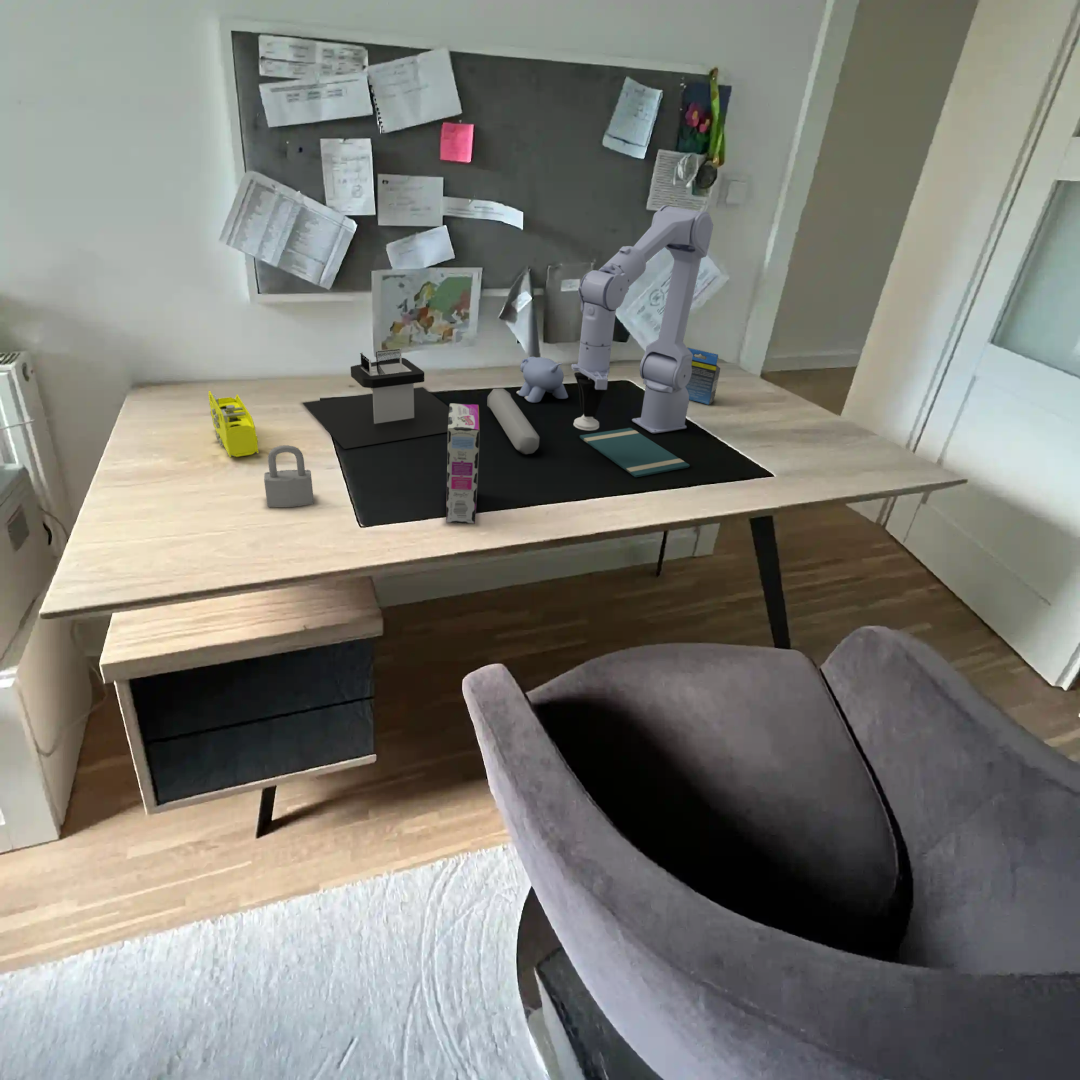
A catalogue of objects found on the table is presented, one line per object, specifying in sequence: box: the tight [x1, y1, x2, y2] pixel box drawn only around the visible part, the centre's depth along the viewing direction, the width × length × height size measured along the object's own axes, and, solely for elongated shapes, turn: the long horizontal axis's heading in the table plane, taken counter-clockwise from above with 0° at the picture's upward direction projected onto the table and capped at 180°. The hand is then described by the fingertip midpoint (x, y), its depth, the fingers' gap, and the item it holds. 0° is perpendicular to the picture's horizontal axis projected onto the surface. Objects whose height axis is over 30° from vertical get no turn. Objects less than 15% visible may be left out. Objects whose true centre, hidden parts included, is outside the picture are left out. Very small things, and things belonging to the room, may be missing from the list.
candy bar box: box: [445, 403, 481, 525], centre depth 117 cm, size 11×5×16 cm, turn 5°
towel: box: [579, 427, 690, 478], centre depth 146 cm, size 13×20×1 cm, turn 29°
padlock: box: [263, 444, 315, 508], centre depth 116 cm, size 7×4×10 cm, turn 107°
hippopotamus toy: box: [516, 356, 569, 403], centre depth 169 cm, size 11×15×10 cm
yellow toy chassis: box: [207, 390, 259, 458], centre depth 134 cm, size 16×6×8 cm, turn 31°
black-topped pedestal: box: [302, 347, 450, 450], centre depth 150 cm, size 28×26×13 cm
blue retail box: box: [685, 346, 721, 406], centre depth 173 cm, size 9×4×12 cm, turn 58°
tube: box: [486, 388, 541, 455], centre depth 149 cm, size 5×5×25 cm
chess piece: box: [573, 378, 600, 432], centre depth 136 cm, size 5×5×10 cm
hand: (588, 413), depth 137 cm, fingers closed on chess piece
